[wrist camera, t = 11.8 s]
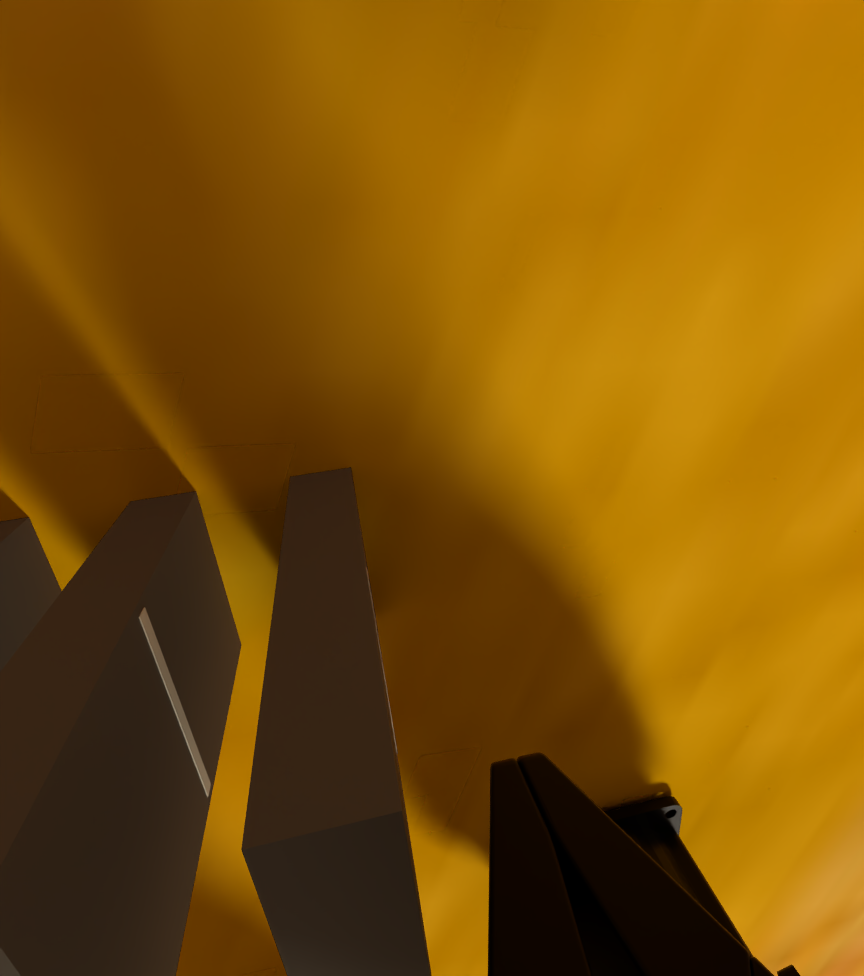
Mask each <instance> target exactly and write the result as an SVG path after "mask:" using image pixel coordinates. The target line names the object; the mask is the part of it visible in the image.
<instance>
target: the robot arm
mask: <svg viewBox="0 0 864 976" xmlns="http://www.w3.org/2000/svg"><path fill="white" fill-rule="evenodd" d="M681 816H682V808H681V806H680V805H679V803H678V802H677V800H676V799H675V798H674V797H672V796H668V797H663V798H659V799H655V800H651V801H647V802H643V803H640V804H636V805H632V806H628V807H624V808H620V809H616V810H612V811H608V812H604V811H602V810H601V809H600V808H599V807H598V806H597V805H596V804H595V803H594V802H593V801H592V800H591V799H590V798H589V797H588V796H587V795H586V794H585V793H584V792H583V791H582V790H581V789H580V788H579V787H578V786H577V785H575V784H574V783H573V782H572V781H571V780H570V779H569V778H568V777H567V776H566V775H565V774H564V773H563V772H562V771H561V770H560V769H559V768H558V767H557V766H556V765H555V764H554V763H553V762H552V761H551V760H550V759H548V758H547V757H546V756H545V755H544V754H542V753H533V754H529V755H524V756H520V757H518V759H517V761H516V760H515V759H506V760H502V761H498V762H494V763H492V764H491V768H490V843H489V927H488V976H774V975H773V974H772V973H771V972H770V971H769V970H768V969H767V968H766V967H765V966H764V965H763V964H762V963H761V962H760V961H759V960H758V959H757V958H755V957H753V955H752V954H751V952H750V950H749V949H748V947H747V945H746V944H745V942H744V941H743V939H742V937H741V936H740V934H739V933H738V931H737V929H736V928H735V926H734V924H733V923H732V921H731V920H730V918H729V916H728V915H727V913H726V912H725V910H724V908H723V907H722V905H721V903H720V902H719V900H718V899H717V897H716V895H715V894H714V892H713V891H712V889H711V887H710V886H709V884H708V882H707V881H706V879H705V878H704V876H703V874H702V873H701V871H700V870H699V868H698V866H697V865H696V863H695V861H694V860H693V858H692V857H691V855H690V853H689V852H688V850H687V849H686V847H685V845H684V844H683V842H682V840H681V839H680V837H679V830H680V823H681ZM777 974H778V976H800V975H799V973H798V972H797V970H796V969H795V968H794V966H793V965H790V966H788V967H786V968H783V969H781V970H779V971H777Z"/></svg>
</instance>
